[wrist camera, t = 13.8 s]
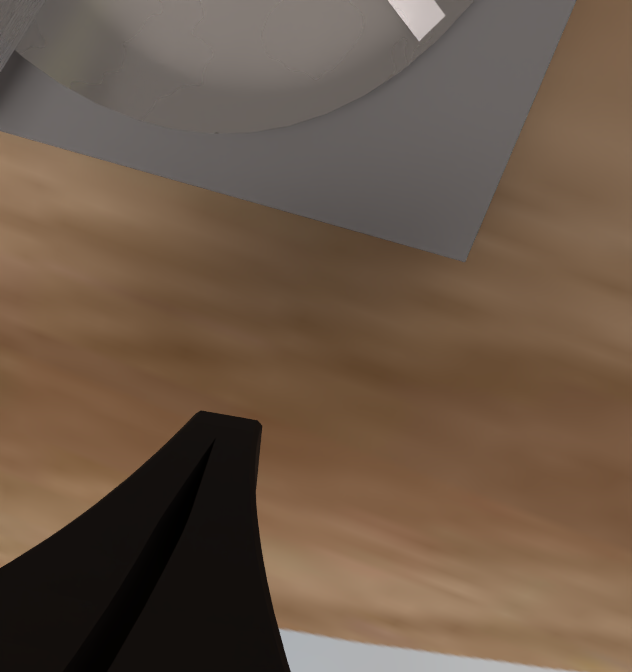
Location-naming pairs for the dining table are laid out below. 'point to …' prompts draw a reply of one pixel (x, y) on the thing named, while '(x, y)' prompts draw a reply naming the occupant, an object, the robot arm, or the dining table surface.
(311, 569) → the dining table surface
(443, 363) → the dining table surface
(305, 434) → the dining table surface
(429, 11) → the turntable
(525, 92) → the base plate
